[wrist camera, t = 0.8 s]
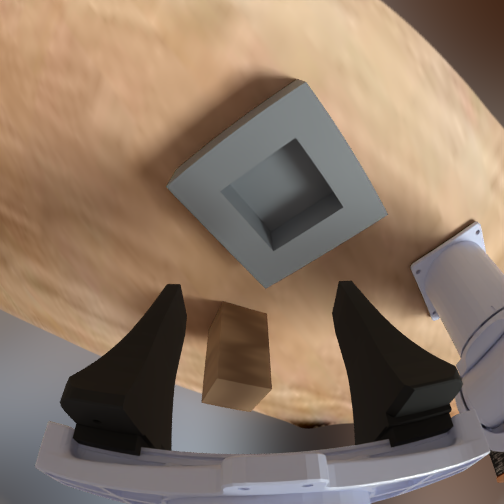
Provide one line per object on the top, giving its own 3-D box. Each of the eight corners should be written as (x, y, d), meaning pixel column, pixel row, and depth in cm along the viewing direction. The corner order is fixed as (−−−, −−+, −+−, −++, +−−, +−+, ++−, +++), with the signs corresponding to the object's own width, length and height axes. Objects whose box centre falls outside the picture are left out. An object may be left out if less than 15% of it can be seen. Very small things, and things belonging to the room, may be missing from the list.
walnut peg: (266, 313, 28) (271, 389, 22) (249, 341, 31) (250, 411, 24) (222, 301, 27) (217, 378, 21) (208, 330, 30) (201, 402, 23)
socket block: (373, 195, 22) (388, 214, 19) (263, 263, 25) (265, 288, 23) (297, 78, 17) (305, 81, 15) (176, 169, 21) (165, 186, 18)
